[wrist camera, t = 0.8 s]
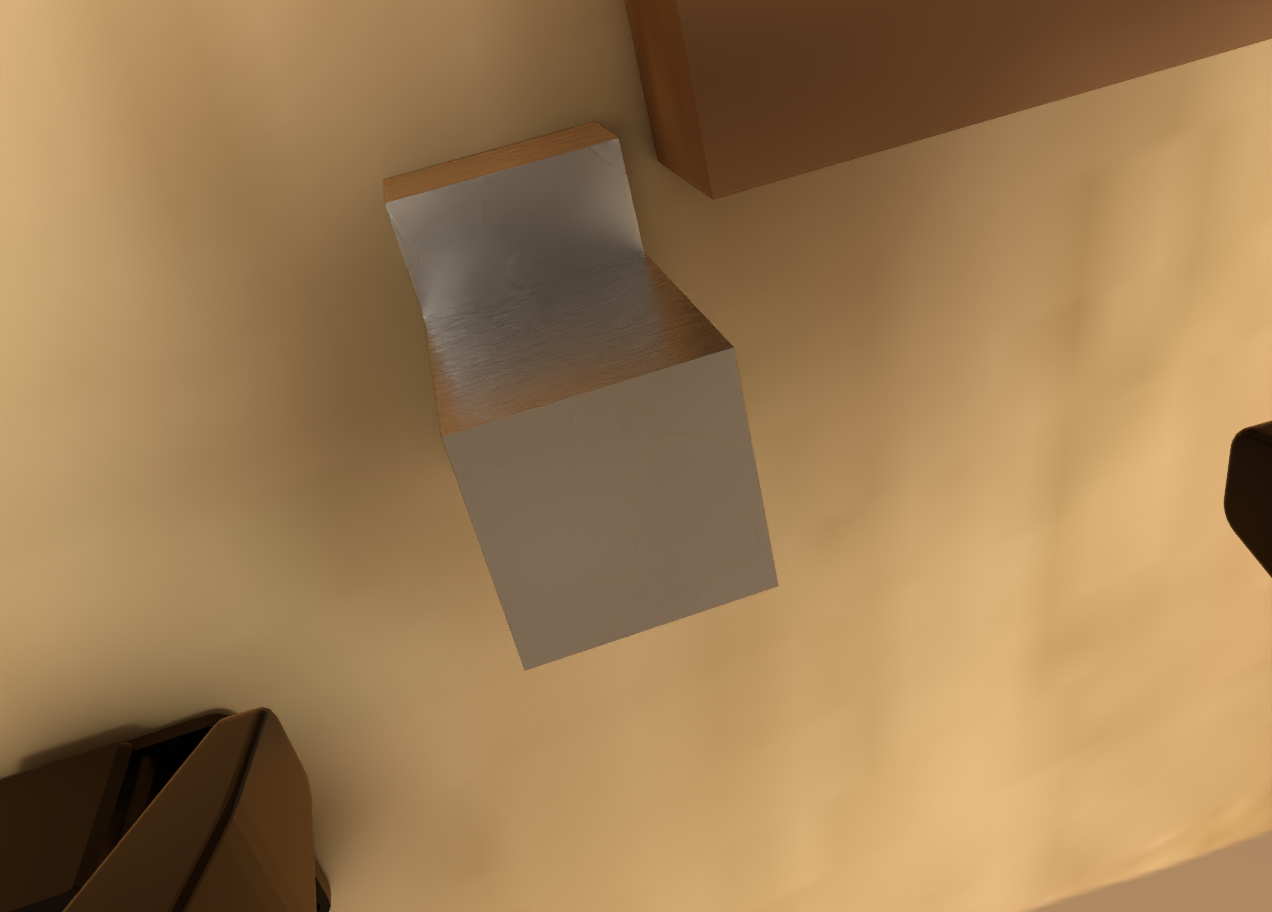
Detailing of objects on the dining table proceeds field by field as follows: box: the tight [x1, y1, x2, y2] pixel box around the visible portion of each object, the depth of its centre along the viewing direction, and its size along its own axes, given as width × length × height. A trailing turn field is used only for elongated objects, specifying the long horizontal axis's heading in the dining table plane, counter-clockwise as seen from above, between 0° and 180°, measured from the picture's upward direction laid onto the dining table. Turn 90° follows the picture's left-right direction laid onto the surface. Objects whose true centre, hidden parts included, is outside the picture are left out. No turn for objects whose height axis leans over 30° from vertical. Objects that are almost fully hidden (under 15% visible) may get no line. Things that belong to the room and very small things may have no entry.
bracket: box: [383, 122, 778, 670], centre depth 17 cm, size 6×4×7 cm, turn 13°
